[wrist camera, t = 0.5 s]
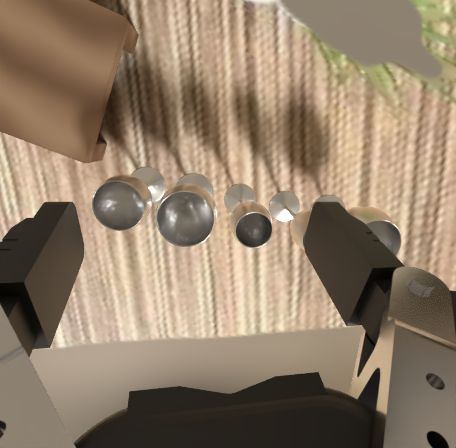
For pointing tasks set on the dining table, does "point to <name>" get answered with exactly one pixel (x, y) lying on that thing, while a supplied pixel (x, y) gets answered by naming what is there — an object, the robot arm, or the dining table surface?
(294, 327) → the dining table surface
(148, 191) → the goblet set
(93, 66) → the walnut shelf
